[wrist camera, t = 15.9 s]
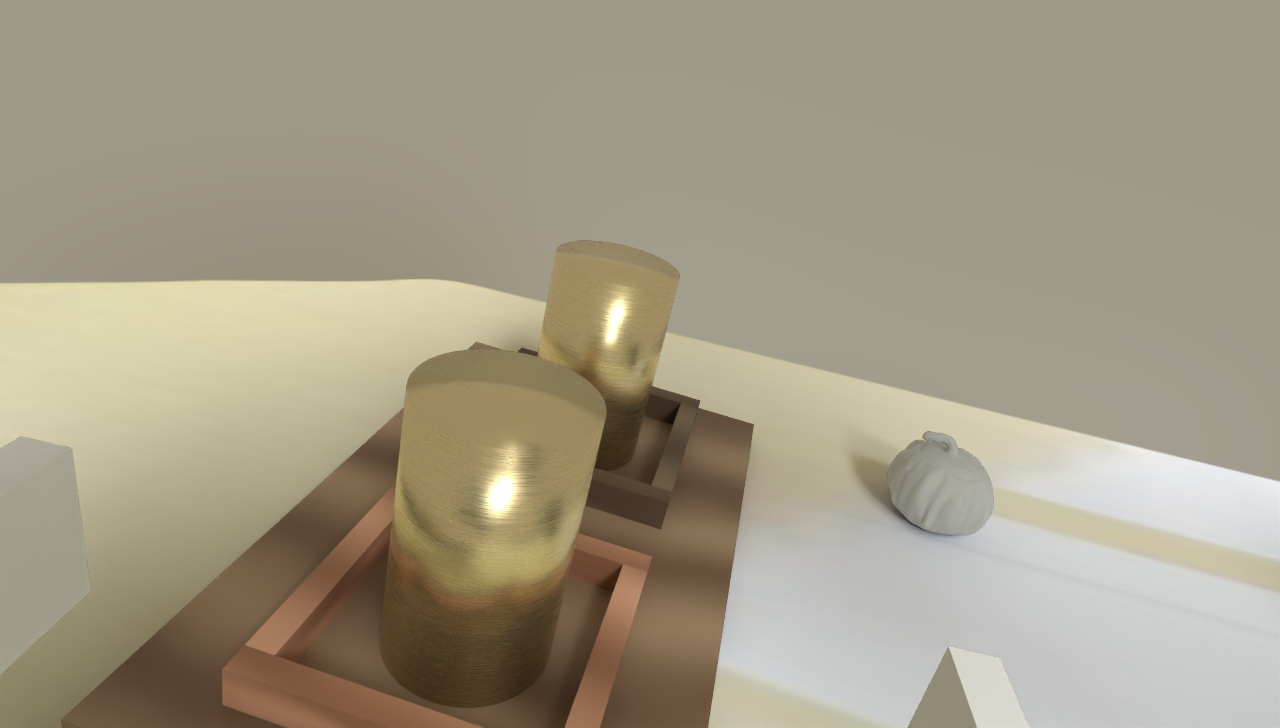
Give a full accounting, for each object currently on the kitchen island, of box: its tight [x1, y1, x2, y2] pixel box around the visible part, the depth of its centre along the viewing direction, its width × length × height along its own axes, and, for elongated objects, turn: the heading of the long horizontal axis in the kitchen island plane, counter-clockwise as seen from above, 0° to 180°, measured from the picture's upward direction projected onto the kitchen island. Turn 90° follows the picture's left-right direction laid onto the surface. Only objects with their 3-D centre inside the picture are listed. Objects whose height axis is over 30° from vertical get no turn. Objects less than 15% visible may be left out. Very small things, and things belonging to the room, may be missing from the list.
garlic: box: [887, 431, 994, 536], centre depth 43 cm, size 6×5×5 cm
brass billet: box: [380, 349, 606, 708], centre depth 26 cm, size 6×6×10 cm
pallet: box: [61, 342, 754, 728], centre depth 35 cm, size 30×18×3 cm, turn 168°
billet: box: [537, 240, 680, 471], centre depth 39 cm, size 6×6×10 cm
